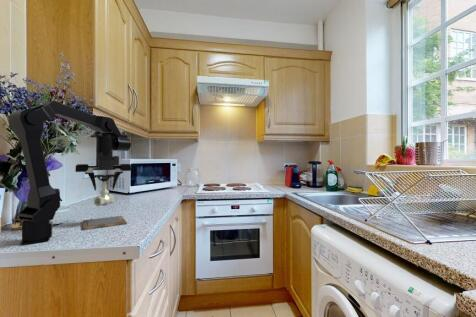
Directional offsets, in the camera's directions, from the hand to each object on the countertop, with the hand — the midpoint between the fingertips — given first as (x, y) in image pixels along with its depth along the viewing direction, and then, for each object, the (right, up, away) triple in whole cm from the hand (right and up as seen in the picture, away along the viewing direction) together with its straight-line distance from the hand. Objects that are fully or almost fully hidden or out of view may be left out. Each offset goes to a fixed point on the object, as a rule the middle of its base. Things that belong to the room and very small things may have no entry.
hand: (104, 189), depth 93 cm
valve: (0, -6, 0) cm, 6 cm away
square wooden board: (0, -13, 0) cm, 13 cm away
